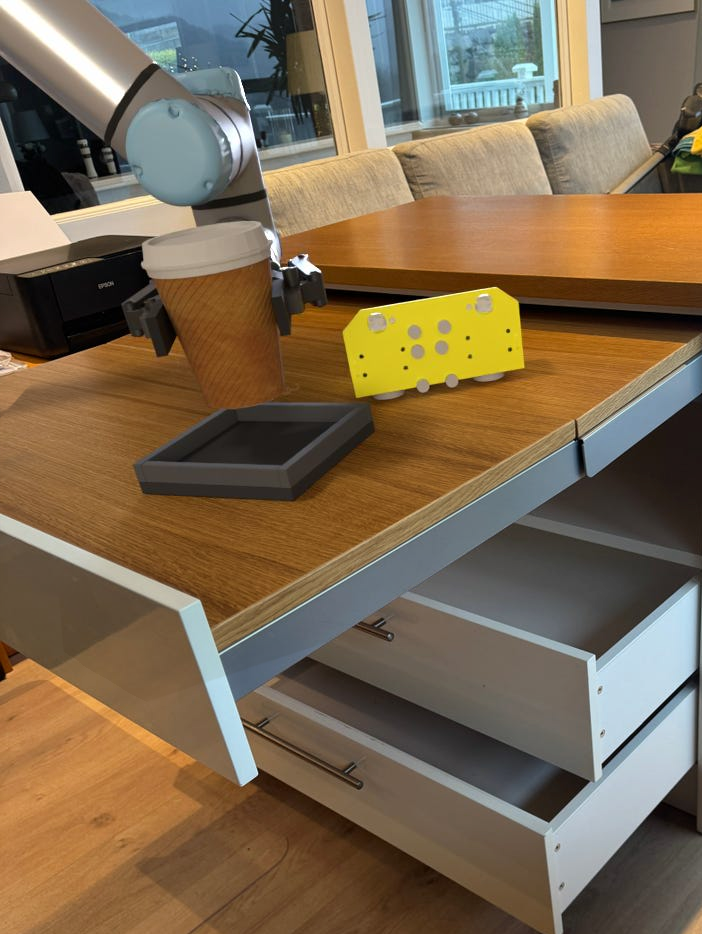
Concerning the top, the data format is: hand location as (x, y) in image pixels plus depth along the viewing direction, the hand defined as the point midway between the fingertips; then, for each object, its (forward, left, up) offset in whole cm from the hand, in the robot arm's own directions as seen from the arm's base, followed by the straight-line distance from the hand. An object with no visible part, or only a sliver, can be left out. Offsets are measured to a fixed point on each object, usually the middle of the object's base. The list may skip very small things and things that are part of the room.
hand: (219, 326), depth 64 cm
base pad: (-2, +4, -12) cm, 13 cm away
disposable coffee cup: (-2, +4, -7) cm, 8 cm away
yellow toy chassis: (+6, +23, -12) cm, 27 cm away
